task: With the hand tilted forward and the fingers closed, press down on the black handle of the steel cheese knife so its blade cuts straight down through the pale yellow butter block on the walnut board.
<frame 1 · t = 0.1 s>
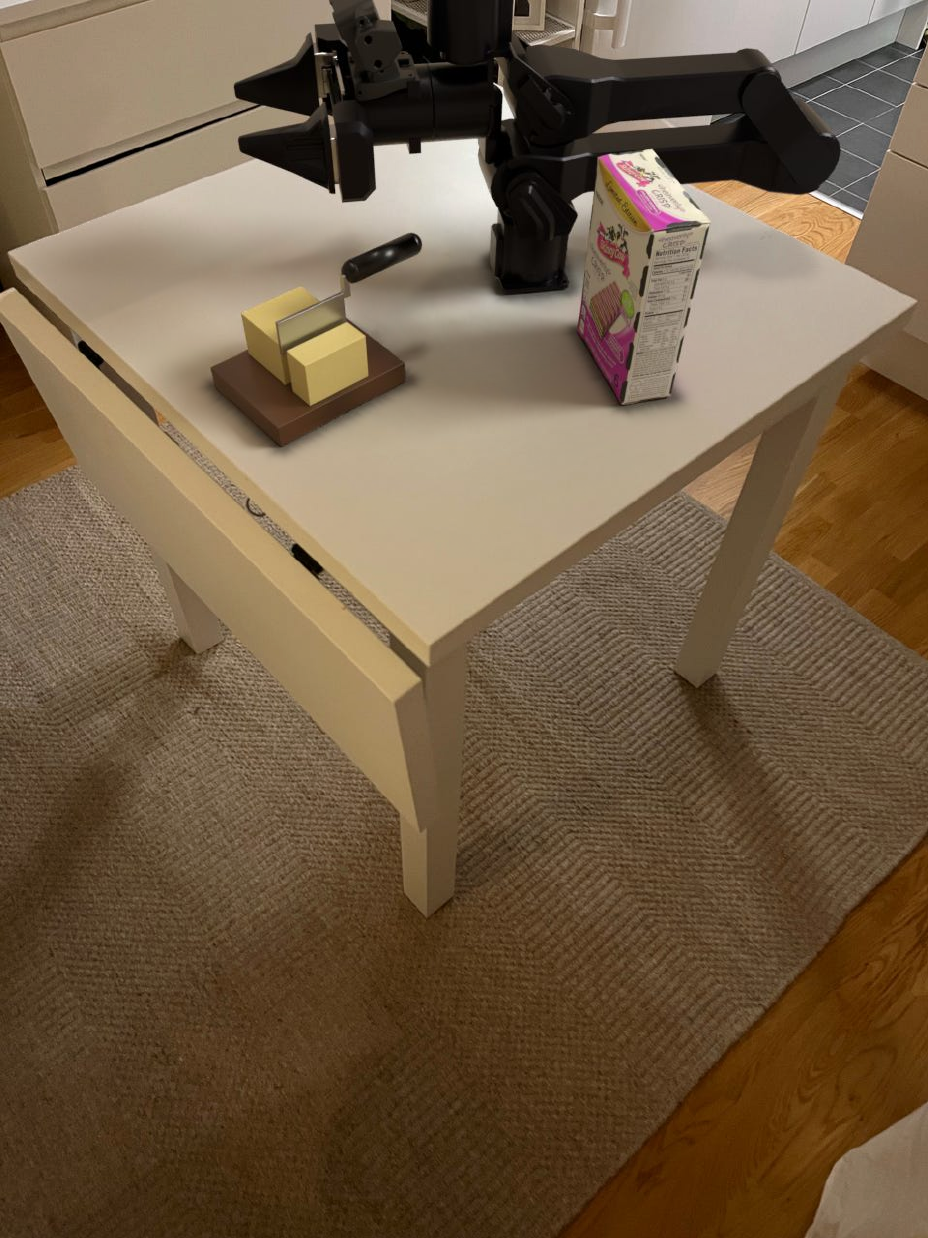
hand: (236, 116, 77), 17 cm above the table, tool horizontal, fingers open, 9 cm apart
candy bar box: (620, 366, 85), on the table
butter: (305, 344, 80), on the board, point 4 cm above the table
knife: (336, 298, 77), point 8 cm above the table, slide at 0.0 cm
board: (310, 383, 83), on the table
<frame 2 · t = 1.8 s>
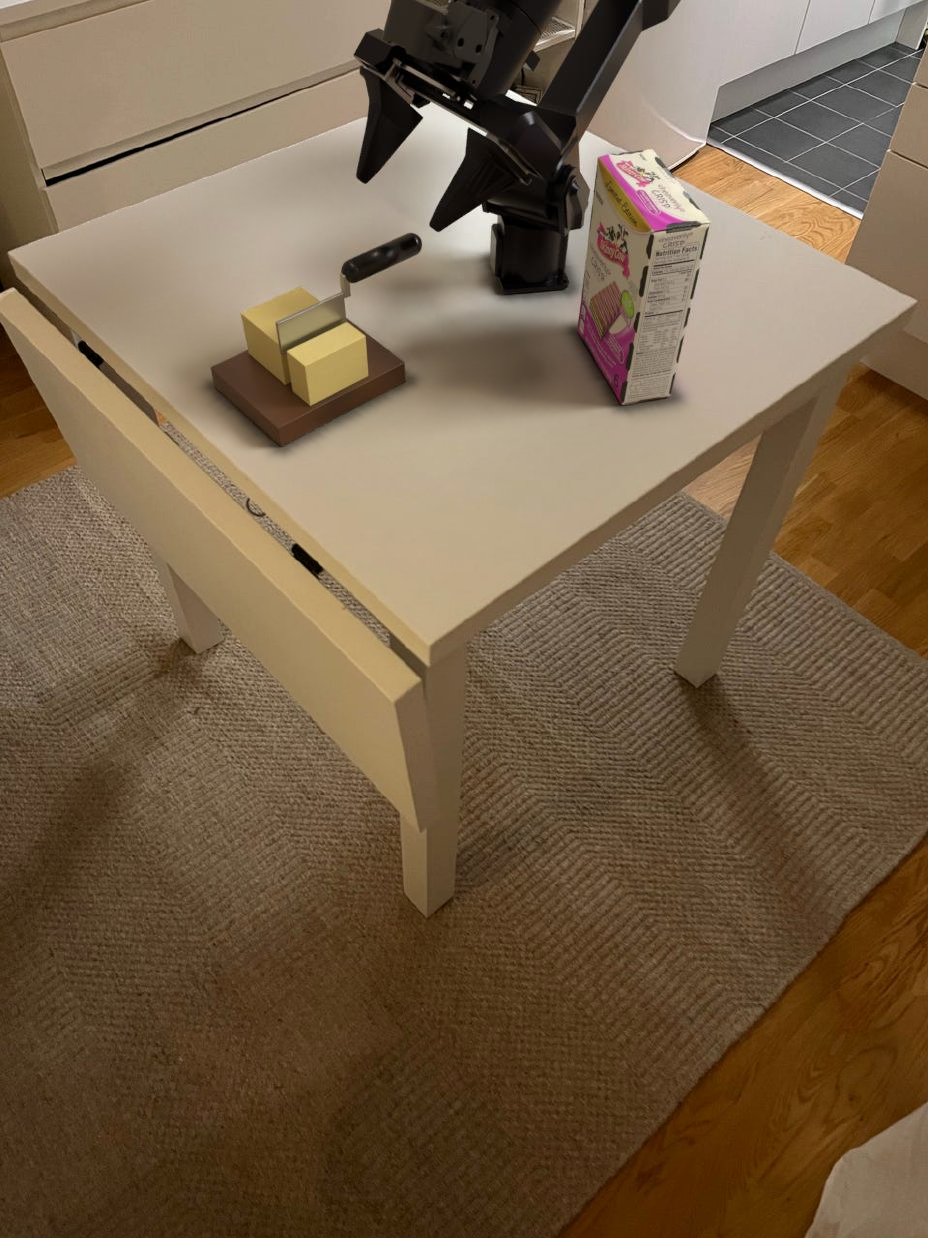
hand: (395, 204, 75), 14 cm above the table, tool tilted 45°, fingers open, 9 cm apart
nothing on the table moved.
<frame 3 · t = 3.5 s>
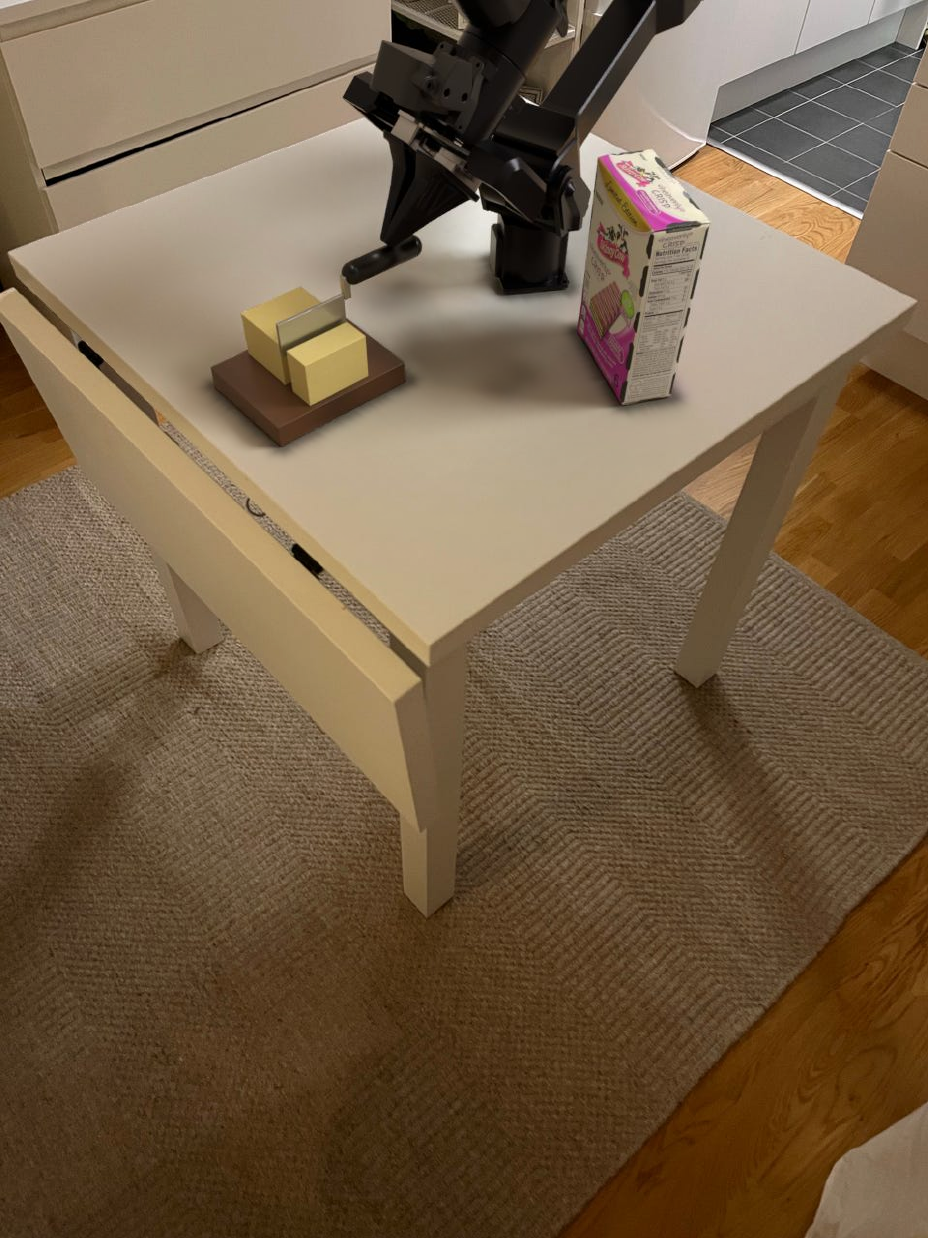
hand: (385, 243, 77), 11 cm above the table, tool tilted 45°, fingers closed, pressing on knife
knife: (336, 300, 77), point 8 cm above the table, slide at -0.2 cm, touching gripper
everything else where it was.
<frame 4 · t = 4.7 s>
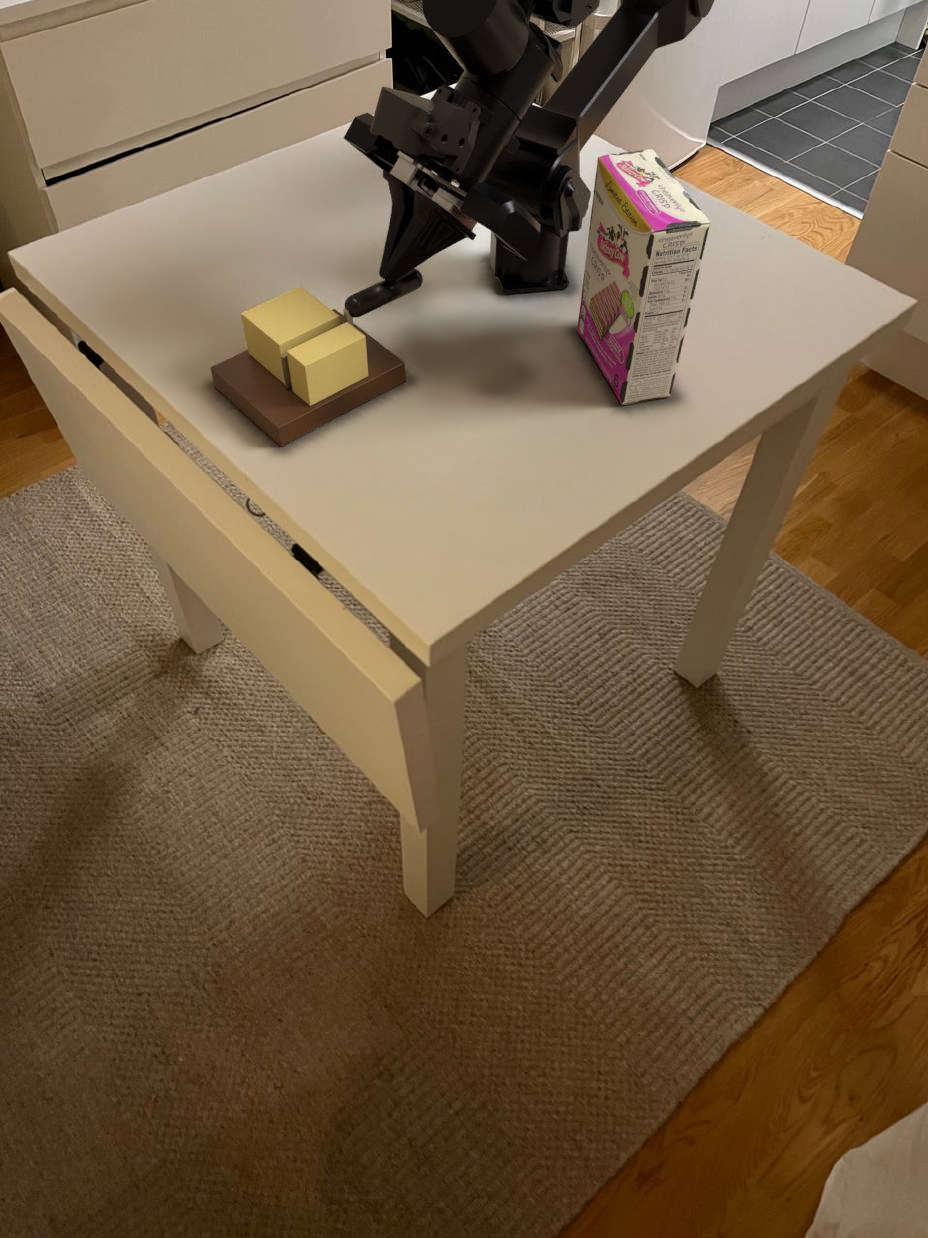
hand: (384, 279, 79), 8 cm above the table, tool tilted 45°, fingers closed, pressing on knife
knife: (339, 332, 79), point 5 cm above the table, slide at -3.2 cm, touching gripper
everything else where it was.
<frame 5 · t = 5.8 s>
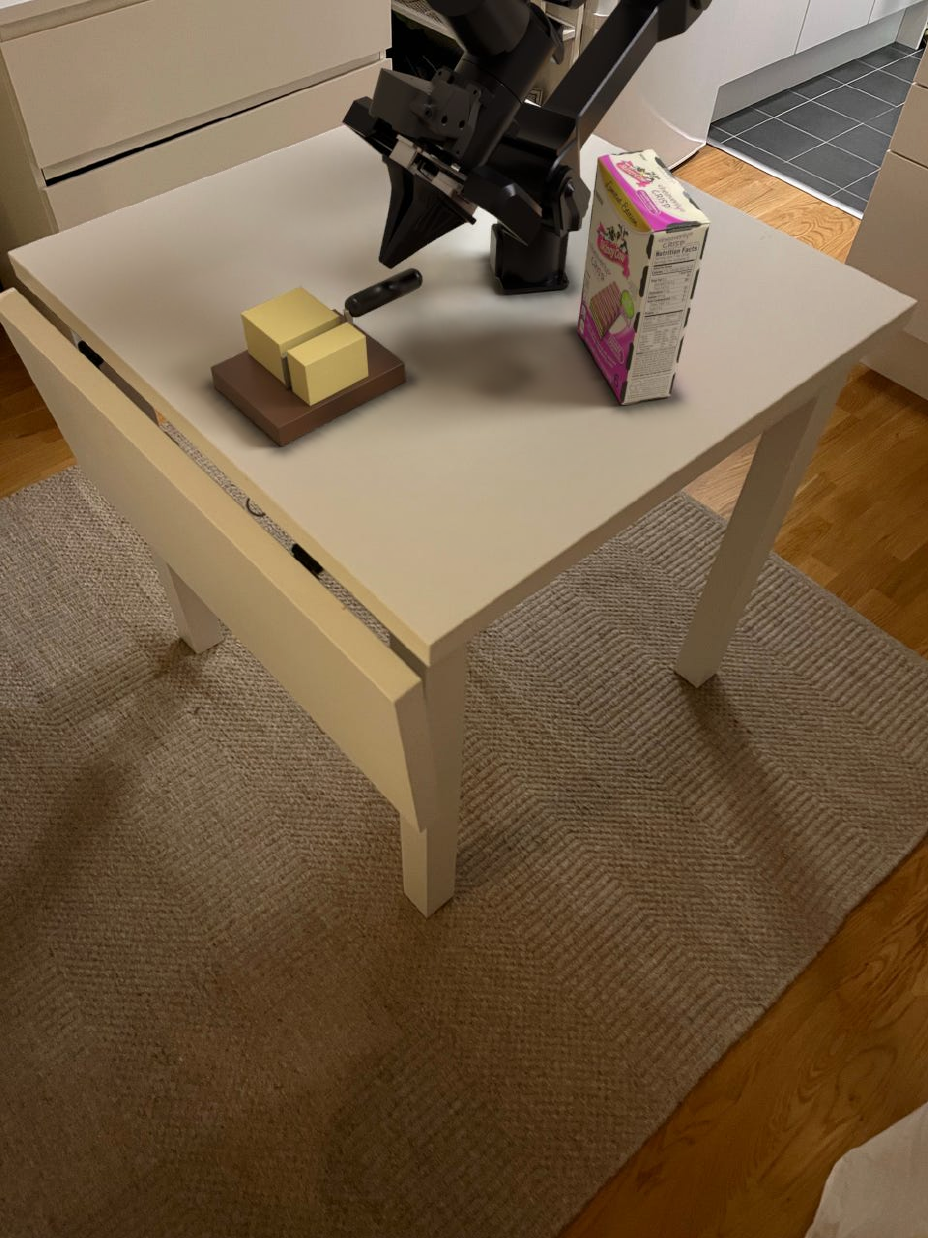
hand: (384, 265, 78), 9 cm above the table, tool tilted 45°, fingers closed
knife: (339, 332, 79), point 5 cm above the table, slide at -3.2 cm
everything else where it was.
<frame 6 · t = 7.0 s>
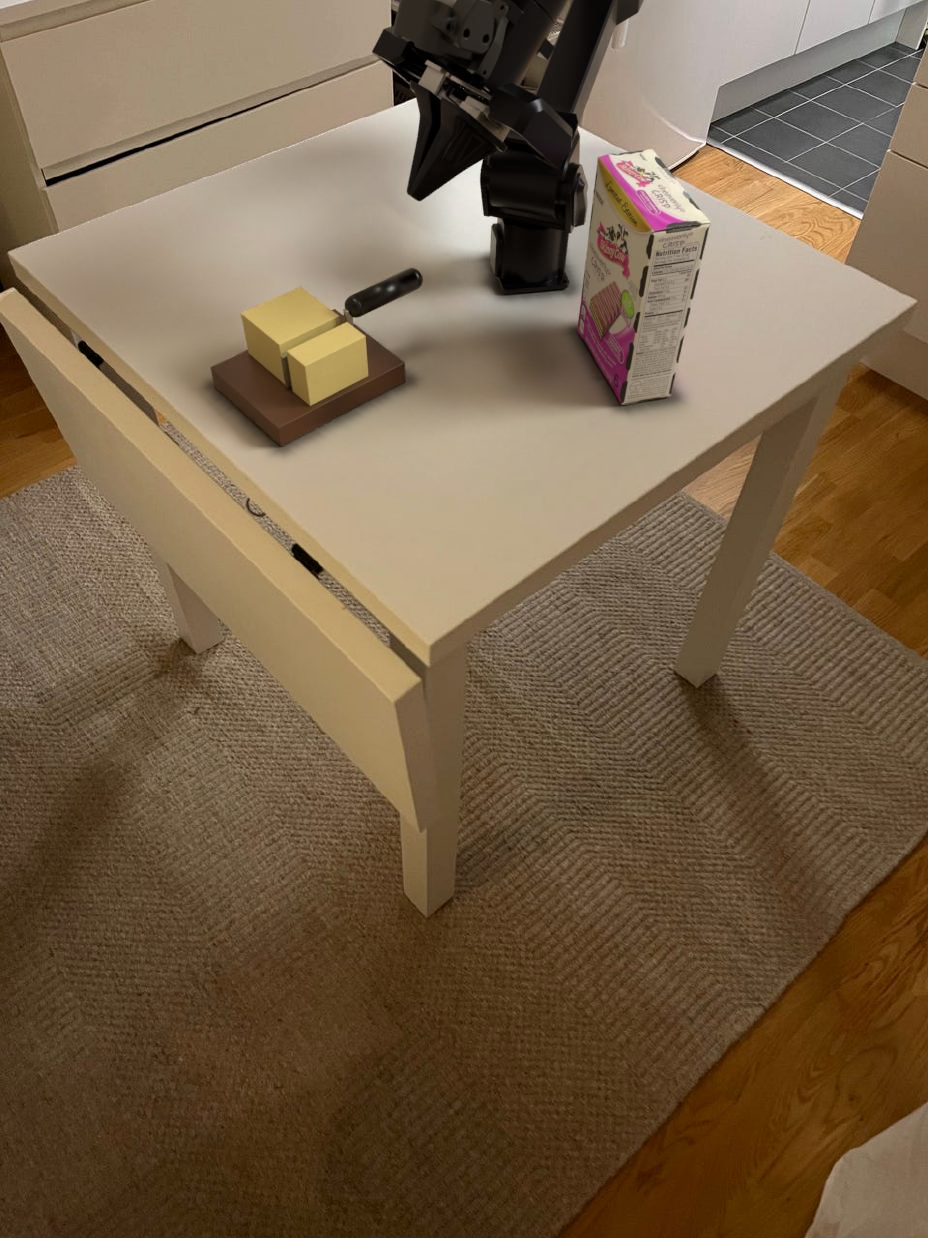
hand: (412, 197, 76), 14 cm above the table, tool tilted 45°, fingers closed
nothing on the table moved.
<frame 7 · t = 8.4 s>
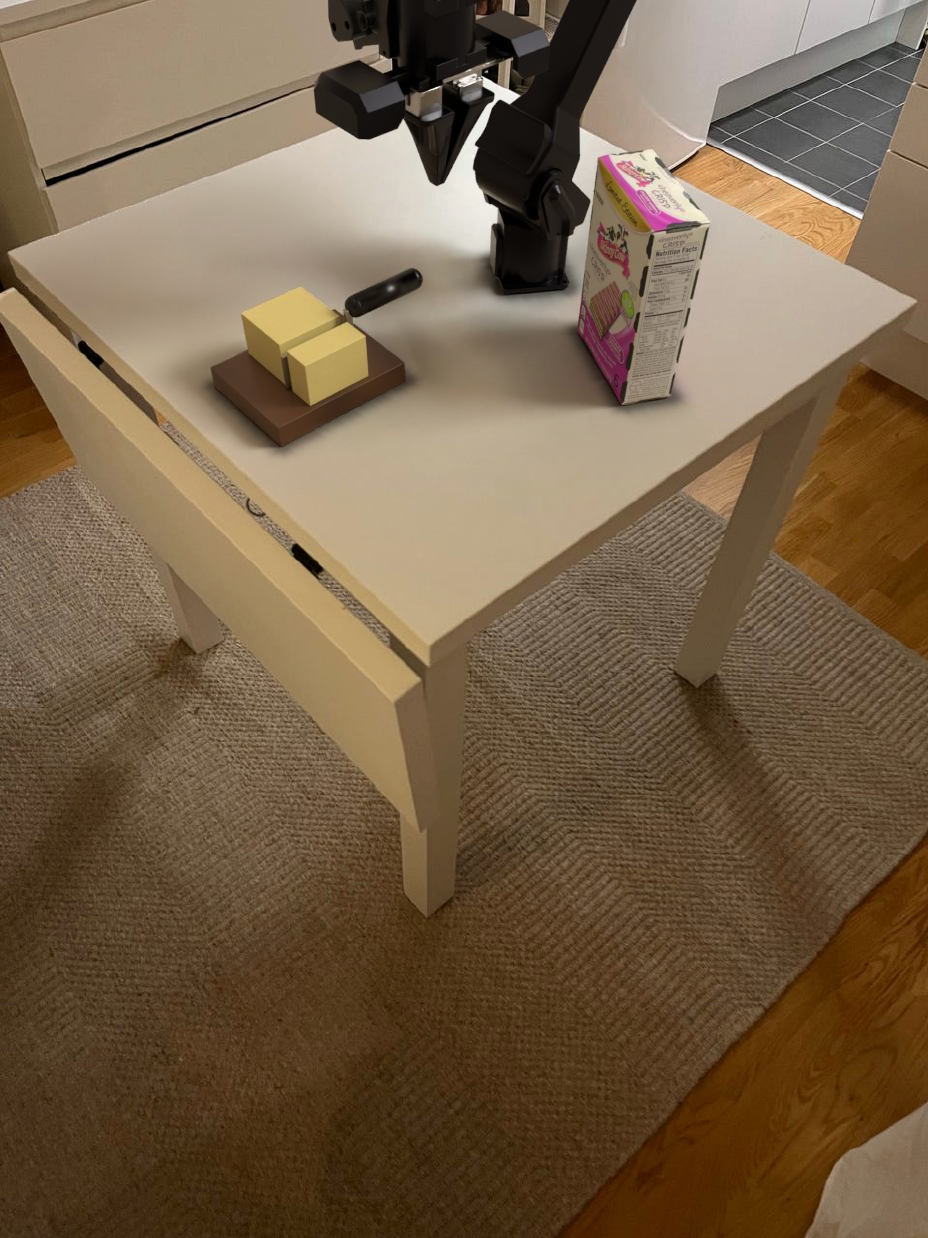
hand: (436, 182, 78), 13 cm above the table, tool pointing down, fingers closed
nothing on the table moved.
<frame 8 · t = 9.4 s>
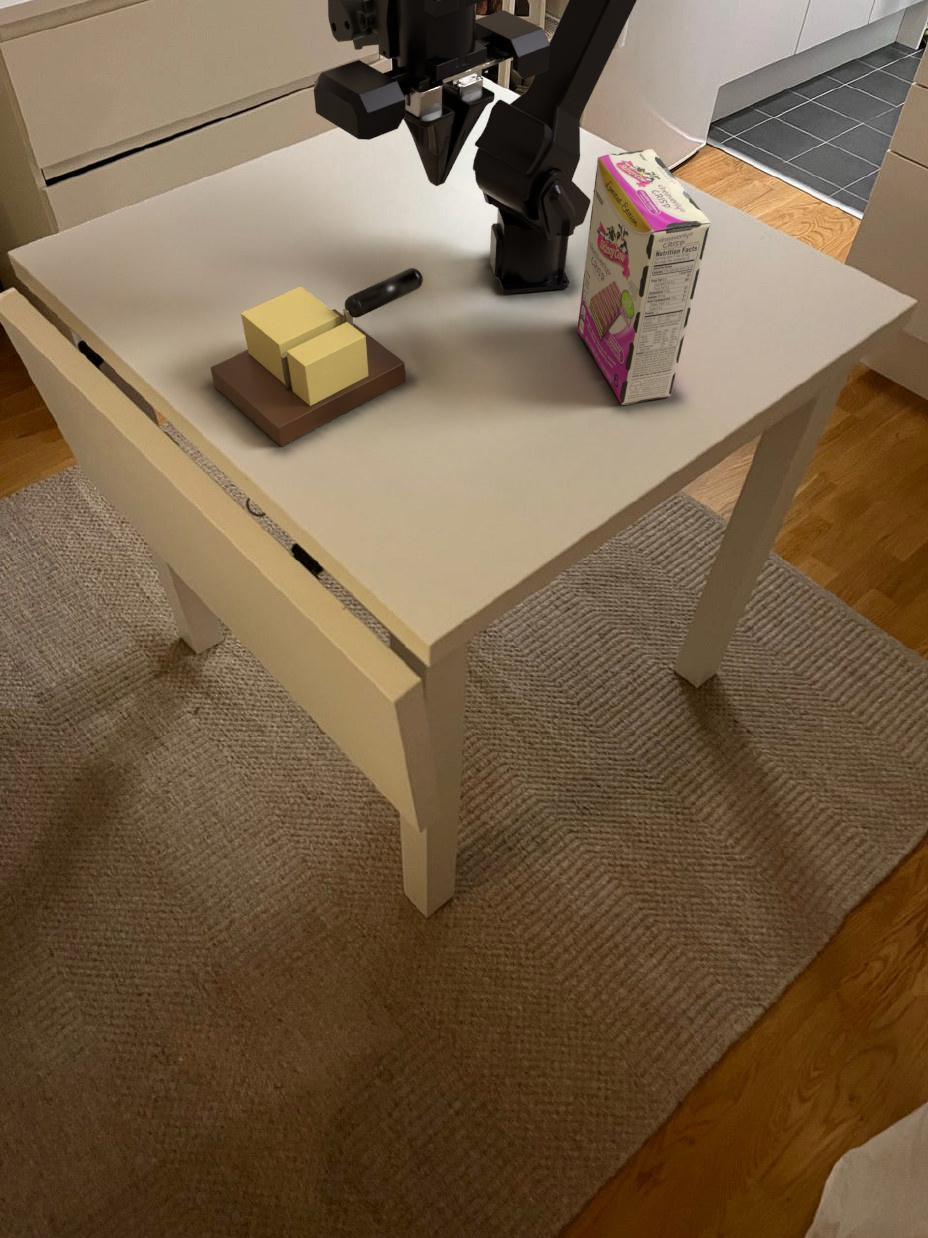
hand: (436, 182, 78), 13 cm above the table, tool pointing down, fingers closed
nothing on the table moved.
at the end: knife slide at -3.2 cm; candy bar box moved 0.2 cm from its start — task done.
